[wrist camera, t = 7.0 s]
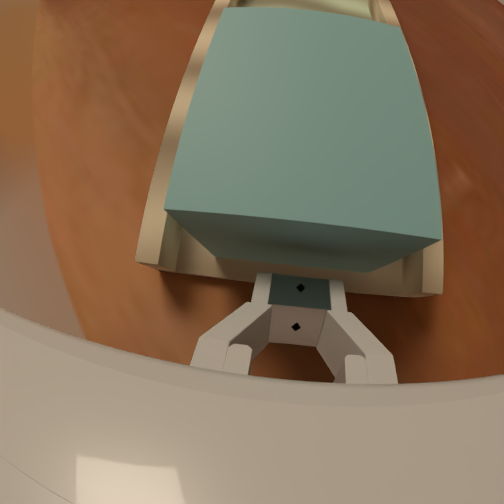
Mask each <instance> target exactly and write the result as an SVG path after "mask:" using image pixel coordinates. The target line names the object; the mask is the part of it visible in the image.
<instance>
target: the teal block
mask: <svg viewBox="0 0 504 504" xmlns="http://www.w3.org/2000/svg"><path fill="white" fill-rule="evenodd" d="M163 209H164V210H165V211H166V212H167V213H168V214H169V215H170V216H171V217H172V218H174V219H175V220H176V221H177V222H178V223H179V224H180V225H181V226H182V227H183V228H184V229H185V230H186V231H187V232H189V233H190V234H191V235H192V236H193V237H194V238H195V239H196V240H197V241H198V242H199V243H200V244H201V245H203V246H204V247H205V248H206V249H207V250H208V251H209V252H210V253H211V254H212V255H213V256H215V257H223V258H232V259H241V260H250V261H259V262H268V263H277V264H287V265H296V266H305V267H315V268H324V269H334V270H344V271H353V272H363V273H369V272H372V271H374V270H376V269H379V268H381V267H383V266H386V265H388V264H390V263H393V262H395V261H397V260H399V259H402V258H404V257H406V256H408V255H410V254H413V253H415V252H417V251H419V250H421V249H423V248H426V247H428V246H430V245H432V244H434V243H436V242H438V241H440V240H442V227H441V210H440V198H439V188H438V179H437V171H436V164H435V157H434V151H433V145H432V139H431V134H430V129H429V124H428V119H427V114H426V110H425V106H424V102H423V98H422V94H421V90H420V86H419V83H418V79H417V76H416V72H415V69H414V66H413V62H412V59H411V56H410V53H409V50H408V47H407V45H406V42H405V39H404V36H403V34H402V31H401V28H400V27H397V26H393V25H389V24H385V23H381V22H377V21H373V20H368V19H364V18H359V17H354V16H348V15H342V14H336V13H329V12H322V11H314V10H304V9H292V8H274V7H229V8H224V9H223V12H222V14H221V17H220V19H219V22H218V24H217V27H216V29H215V32H214V35H213V37H212V40H211V43H210V45H209V48H208V51H207V54H206V57H205V59H204V62H203V65H202V68H201V71H200V74H199V77H198V80H197V83H196V86H195V90H194V93H193V96H192V99H191V102H190V106H189V109H188V112H187V116H186V119H185V123H184V126H183V130H182V134H181V137H180V141H179V145H178V149H177V152H176V156H175V160H174V164H173V169H172V173H171V177H170V181H169V186H168V190H167V194H166V199H165V204H164V208H163Z"/></svg>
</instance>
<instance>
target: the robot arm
mask: <svg viewBox="0 0 504 504" xmlns="http://www.w3.org/2000/svg"><path fill="white" fill-rule="evenodd" d="M268 342H272V343H284V344H296V345H304V346H313V347H316V348H317V350H318V352H319V353H320V355H321V356H322V358H323V360H324V361H325V363H326V364H327V366H328V367H329V369H330V371H331V372H332V374H333V375H334V377H335V380H334V382H333V383H326V382H310V381H297V380H286V379H276V378H267V377H259V376H251V362H252V361H253V359H254V358H255V357H256V356H257V355H258V354H259V353H260V352H261V351H262V350H263V349H264V348H265V347H266V345H267V344H268ZM0 504H504V374H502V375H495V376H489V377H481V378H473V379H464V380H454V381H442V382H428V383H405V384H398V380H397V375H396V369H395V364H394V359H393V355H392V354H391V353H390V352H389V351H388V350H387V349H386V348H385V347H384V345H383V344H382V343H381V342H380V341H379V340H378V339H377V338H376V337H375V336H374V335H373V334H372V333H371V332H370V331H369V330H368V329H367V328H366V327H365V326H364V325H363V324H362V323H361V321H360V320H359V319H358V318H357V317H356V316H355V315H354V314H353V313H352V312H348V311H347V304H346V297H345V290H344V284H343V281H342V280H337V279H320V278H309V277H301V276H293V275H285V274H277V273H273V274H272V273H268V272H260V271H258V273H257V276H256V280H255V285H254V290H253V295H252V300H251V302H246V303H245V304H243V305H242V306H241V307H239V308H238V309H237V310H235V311H234V312H233V313H231V314H230V315H229V316H227V317H226V318H225V319H223V320H222V321H221V322H219V323H218V324H217V325H215V326H214V327H213V328H211V329H210V330H208V331H207V332H206V333H204V334H203V335H202V336H200V337H199V340H198V343H197V346H196V349H195V352H194V354H193V357H192V360H191V363H190V366H189V365H184V364H179V363H174V362H170V361H165V360H161V359H156V358H152V357H148V356H144V355H140V354H136V353H132V352H128V351H124V350H120V349H117V348H113V347H110V346H106V345H103V344H99V343H96V342H93V341H89V340H86V339H83V338H80V337H77V336H74V335H70V334H68V333H65V332H62V331H59V330H56V329H53V328H50V327H48V326H45V325H42V324H39V323H37V322H34V321H32V320H29V319H27V318H24V317H22V316H19V315H17V314H15V313H12V312H10V311H8V310H6V309H3V308H1V307H0Z"/></svg>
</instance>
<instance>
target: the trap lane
mask: <svg viewBox="0 0 504 504" xmlns="http://www.w3.org/2000/svg"><path fill="white" fill-rule="evenodd" d="M229 7H274V8H292V9H304V10H314V11H322V12H329V13H336V14H342V15H348V16H354V17H359V18H364V19H368V20H373V21H377V22H381V23H385V24H389V25H393V26H397V27H400V28H401V26H400V24H399V21H398V19H397V17H396V14H395V12H394V10H393V7H392V5H391V3H390V1H389V0H216V1H215V3H214V5H213V7H212V9H211V11H210V13H209V15H208V18H207V20H206V22H205V24H204V27H203V29H202V31H201V34H200V36H199V38H198V41H197V43H196V46H195V48H194V51H193V53H192V56H191V58H190V61H189V63H188V66H187V69H186V71H185V74H184V77H183V79H182V82H181V85H180V88H179V91H178V93H177V96H176V99H175V102H174V105H173V108H172V111H171V114H170V118H169V121H168V124H167V127H166V131H165V134H164V137H163V141H162V144H161V148H160V151H159V155H158V158H157V162H156V166H155V170H154V173H153V177H152V181H151V185H150V190H149V194H148V198H147V202H146V207H145V211H144V216H143V221H142V226H141V230H140V236H139V241H138V246H137V252H136V257H135V262H138V263H140V264H143V265H146V266H148V267H151V268H154V269H156V270H159V271H166V272H173V273H181V274H188V275H196V276H204V277H212V278H220V279H228V280H236V281H244V282H253V283H255V280H256V276H257V273H258V271H260V272H268V273H272V274H273V273H277V274H285V275H293V276H301V277H309V278H320V279H337V280H342V281H343V284H344V290H345V292H350V293H361V294H373V295H385V296H398V297H411V298H417V297H425V296H433V295H440V294H443V224H442V209H441V197H440V187H439V178H438V170H437V163H436V157H435V150H434V145H433V139H432V134H431V129H430V124H429V119H428V115H427V119H428V124H429V129H430V134H431V139H432V145H433V151H434V157H435V164H436V171H437V179H438V188H439V198H440V210H441V227H442V240H440V241H438V242H436V243H434V244H432V245H430V246H428V247H426V248H423V249H421V250H419V251H417V252H415V253H413V254H410V255H408V256H406V257H404V258H402V259H399V260H397V261H395V262H393V263H390V264H388V265H386V266H383V267H381V268H379V269H376V270H374V271H372V272H369V273H363V272H353V271H344V270H334V269H324V268H315V267H305V266H296V265H287V264H277V263H268V262H259V261H250V260H241V259H232V258H223V257H215V256H213V255H212V254H211V253H210V252H209V251H208V250H207V249H206V248H205V247H204V246H203V245H201V244H200V243H199V242H198V241H197V240H196V239H195V238H194V237H193V236H192V235H191V234H190V233H189V232H187V231H186V230H185V229H184V228H183V227H182V226H181V225H180V224H179V223H178V222H177V221H176V220H175V219H174V218H172V217H171V216H170V215H169V214H168V213H167V212H166V211H165V210H164V209H163V208H164V204H165V199H166V194H167V190H168V186H169V181H170V177H171V173H172V169H173V164H174V160H175V156H176V152H177V149H178V145H179V141H180V137H181V134H182V130H183V126H184V123H185V119H186V116H187V112H188V109H189V106H190V102H191V99H192V96H193V93H194V90H195V86H196V83H197V80H198V77H199V74H200V71H201V68H202V65H203V62H204V59H205V57H206V54H207V51H208V48H209V45H210V43H211V40H212V37H213V35H214V32H215V29H216V27H217V24H218V22H219V19H220V17H221V14H222V12H223V9H224V8H229ZM401 31H402V29H401ZM402 34H403V32H402ZM403 36H404V34H403ZM404 39H405V37H404ZM405 42H406V40H405ZM406 45H407V42H406ZM407 47H408V45H407ZM408 50H409V48H408ZM409 53H410V51H409ZM410 56H411V54H410ZM411 59H412V57H411ZM412 62H413V60H412ZM413 66H414V63H413ZM414 69H415V66H414ZM415 72H416V69H415ZM416 76H417V73H416ZM417 79H418V76H417ZM418 83H419V79H418ZM419 86H420V83H419ZM420 90H421V86H420ZM421 94H422V90H421ZM422 98H423V94H422ZM423 102H424V98H423ZM424 106H425V102H424ZM425 110H426V106H425ZM426 114H427V110H426Z"/></svg>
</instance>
